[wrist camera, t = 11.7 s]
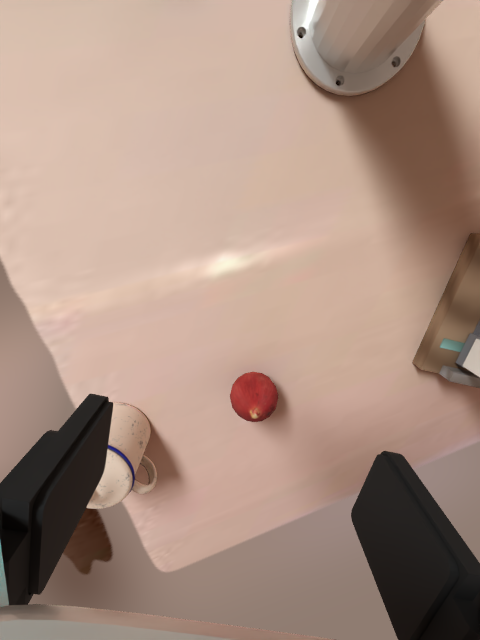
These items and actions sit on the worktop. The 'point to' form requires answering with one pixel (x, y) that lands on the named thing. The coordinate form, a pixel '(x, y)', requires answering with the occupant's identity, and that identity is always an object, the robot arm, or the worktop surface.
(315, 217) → the worktop surface
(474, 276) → the wooden slider board
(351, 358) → the worktop surface
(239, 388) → the onion
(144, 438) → the teacup with lid
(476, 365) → the fader
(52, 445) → the robot arm
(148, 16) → the worktop surface
